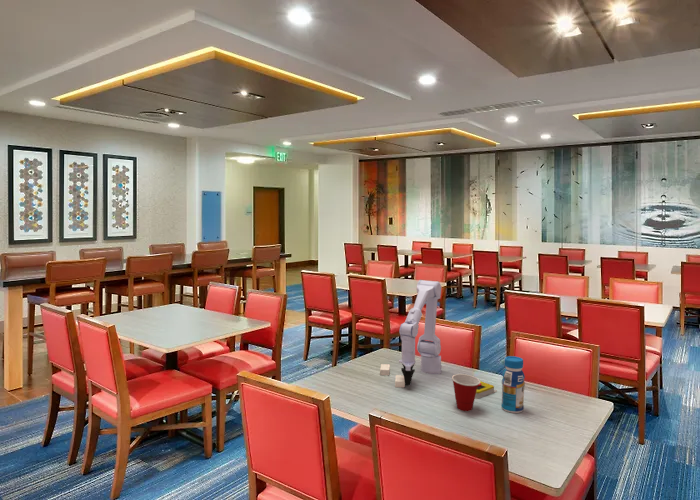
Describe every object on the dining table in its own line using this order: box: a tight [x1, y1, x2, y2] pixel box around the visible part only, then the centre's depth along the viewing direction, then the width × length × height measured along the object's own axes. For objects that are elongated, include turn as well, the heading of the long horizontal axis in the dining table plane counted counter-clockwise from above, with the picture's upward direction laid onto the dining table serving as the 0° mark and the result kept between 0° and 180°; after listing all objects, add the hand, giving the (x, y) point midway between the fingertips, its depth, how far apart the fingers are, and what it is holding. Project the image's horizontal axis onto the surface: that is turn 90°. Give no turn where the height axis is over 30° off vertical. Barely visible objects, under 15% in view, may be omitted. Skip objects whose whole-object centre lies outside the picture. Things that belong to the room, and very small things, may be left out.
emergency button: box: [475, 380, 498, 400], centre depth 205 cm, size 9×4×15 cm
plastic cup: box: [451, 373, 481, 412], centre depth 188 cm, size 11×11×12 cm
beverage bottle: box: [501, 355, 526, 414], centre depth 187 cm, size 8×8×20 cm
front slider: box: [394, 374, 406, 388], centre depth 210 cm, size 4×8×2 cm, turn 173°
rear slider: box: [379, 363, 391, 376], centre depth 225 cm, size 4×8×2 cm, turn 173°
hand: (407, 381), depth 210 cm, fingers open, 7 cm apart
